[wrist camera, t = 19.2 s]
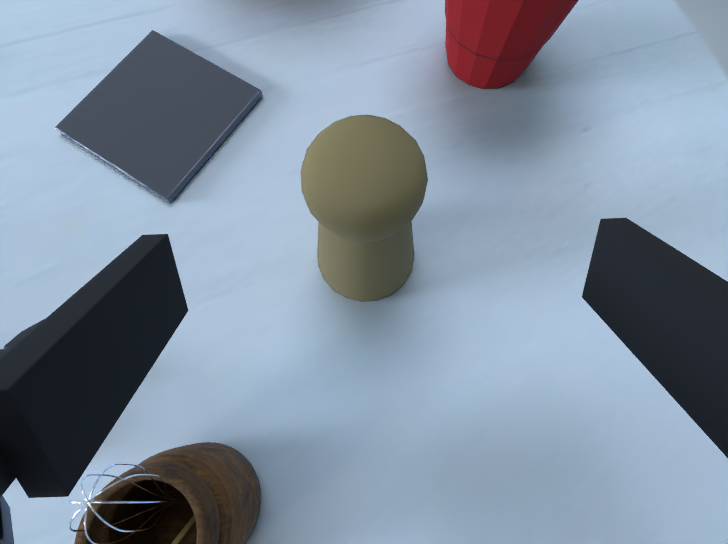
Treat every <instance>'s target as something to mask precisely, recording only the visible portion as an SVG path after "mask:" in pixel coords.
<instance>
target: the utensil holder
mask: <svg viewBox="0 0 728 544" xmlns="http://www.w3.org/2000/svg"><path fill="white" fill-rule="evenodd" d="M119 464H121V465H133V466H136V467H134V468H132V469H130V470H128V471H127V472H125V473H123V474H122V475H120V476H119V477H118V476H114V475H108V474H103V473H104V472H105V471H106V470H107V469H108V468H110V467H111V466H113V465H119ZM108 468H106V469H105V470H104V471H103V472H102V473H101V474H87V475H85V476H84V477H83V478H82V481H81V489H82V493H83V495H84V497H85V499H86V501H67V503H86V504H85V505H84V506H83V507H82V508H81V509H80V510H79V511H78V512H77V513H76V514H75V515H74V516H73V518H72V519H71V521H70V523H69V530H70V531H73V532H77V534H76V538H75V544H245V543H246V542H247V540H248V538H249V537H250V535H251V533H252V531H253V529H254V526H255V524H256V521H257V518H258V514H259V509H260V488H259V483H258V479H257V476H256V473H255V471H254V469H253V467H252V466H251V464H250V463H249V461H248V460H247V459H246V458H245V457H244V456H243V455H242V454H241V453H239V452H238V451H237V450H235V449H233V448H231V447H229V446H226V445H223V444H219V443H210V442H208V443H196V444H191V445H186V446H182V447H178V448H174V449H170V450H167V451H164V452H161V453H158V454H156V455H154V456H152V457H149V458H148V459H146V460H144V461H143V462H141V463H140V464H138V465H136V464H129V463H115V464H112V465H110V466H109V467H108ZM89 475H100V476H99V477H98V479H97V480H96V482H95V484H94V486H93V488H92V490H91V493H90V496H89V499H87V497H86V495H85V493H84V490H83V480H84V478H85V477H86V476H89ZM102 475H103V476H112V477H116V479H114V480H113V481H111V482H110V483H109V484H108V485H106V486H105V487H104V488H103V489H102V490H101V491H100V492H99V493H98V494H97V495H96V496H94V497H93V498H92V499H91V500H90V498H91V495H92V492H93V490H94V488H95V485H96V483H97V482H98V480H99V478H100V477H101V476H102ZM92 500H93V501H92ZM88 502H89V503H88ZM86 505H87V506H86ZM88 505H89V506H88ZM85 506H86V511H85V513H84V515H83V517H82V519H81V522H80V524H79V527H78V530H72V529H71V527H70V525H71V522H72V520H73V519H74V517H75V516H76V515H77V514H78V513H79V512H80V511H81V510H82V509H83V508H84V507H85Z"/></svg>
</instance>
